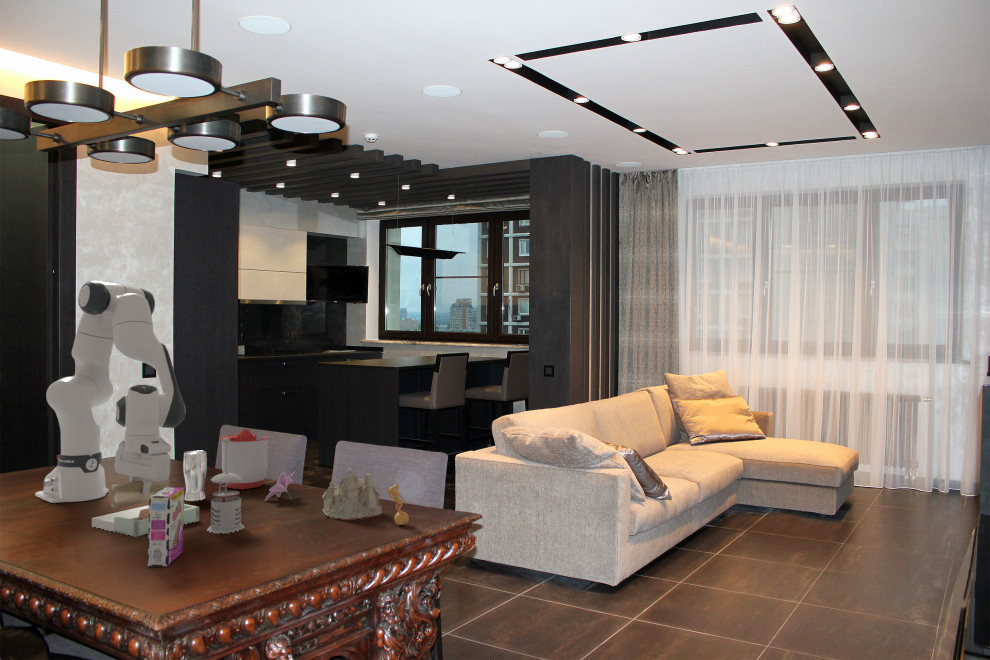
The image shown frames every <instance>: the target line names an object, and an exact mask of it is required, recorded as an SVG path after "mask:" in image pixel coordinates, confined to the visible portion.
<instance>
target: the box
mask: <svg viewBox="0 0 990 660" xmlns="http://www.w3.org/2000/svg"><path fill="white" fill-rule="evenodd" d="M199 521H200V506H197V505H192V504H191V505H190V504H186V503H184V517H183V526H185V525H188V523H189V524H192V522H193V523H195V522H196V523H197V522H199ZM184 524H185V525H184ZM148 531H149V518H147V519H142V520H138V521H135V520H131V519H126V518H122V517H115V520H114V532H113V533H115V532H117V533H116V534H119V533H120V535H123V534H125V535H124V536H128V535H130V536H129V537H132V536H133V537H132V538H139V537H142V535H143V536H145V534H147V535H148ZM138 536H139V537H138Z"/></svg>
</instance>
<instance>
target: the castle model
mask: <svg viewBox="0 0 990 660" xmlns="http://www.w3.org/2000/svg"><path fill="white" fill-rule="evenodd" d="M380 496H381V494H380V493H379V492H378V491H377V489H376V488H375V486H374V483H373V478H372V473H365V476H364V479H362V478H358V475H357V474H355V472H354V471H353V469H352V468H348V470H347V472H346V477H344V476H343V477H342V478H341V480H340V483H339V485H337V484H335V483H334V482H333V481H330V483H329V486H328V488H327V489H326V491H324V493H323V494H322V496H321V498H322V499H323V508H322V510H321V512H322V511H323V512H324V514H325V515H327V516H330V517H334V518H342V519H350V518H361V517H365V516H372V515H378V514H381V513H383V507H382V506H381V505H380V504H381V503H380V502H381V501H380V499H379V497H380Z"/></svg>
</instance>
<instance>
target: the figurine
mask: <svg viewBox="0 0 990 660" xmlns="http://www.w3.org/2000/svg"><path fill="white" fill-rule="evenodd" d="M398 488H399V484H398V483H396V484H394V485H393V486H390V487H389V488H388V490H387V494H388V497H389V499H392V500H393V502H395V510H396V511H397V512H396V514H395V515H394V522H395V524H396V525H397V524H399V525H404V524H406V525H407V524H408V522H409V520H410V519H409V514H408V513H407V512H406V511H402V509H401V508H402V507H403V505H404V504H407V502H406V500H405V498H404V497H403V496H402V495H401V494H400V492H399V489H398ZM399 525H398V526H399ZM404 526H405V525H404Z"/></svg>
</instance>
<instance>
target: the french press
mask: <svg viewBox="0 0 990 660" xmlns="http://www.w3.org/2000/svg"><path fill="white" fill-rule="evenodd" d="M223 442H224V443H226V472H225V473H223V472H222V473H219V474H217V475H214V476H213V477H211V479H210V481H211V482H212V483H214V484H219V486H218V491H215V492H213V493H212V494H211V495H212V496H213V498H211V499H210V506H211V507H210V526H209V527H208V528H207V530H206V532H208V531H209V532H208V533H211V532H213V533H212V534H220V533H222V534H231V533H230V532H232V533H236V532H235V531H237V532H240V531H239V530H241V529H242V530H244V529H245V526H244V525H243V523H242V497H241V496H239V495H240V494H241V493H240V491H238V490H227V489H228V487H227V485H228V483H235V482H239V481H241V479H242V478H241V477H240V476H238V475H236V474H233V473H228V472H227V442H230V439H229V438H224V440H223ZM222 484H225V485H222ZM221 487H222V488H224V490H221ZM223 500H224V502H223ZM243 528H244V529H243ZM242 530H241V531H242Z"/></svg>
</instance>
